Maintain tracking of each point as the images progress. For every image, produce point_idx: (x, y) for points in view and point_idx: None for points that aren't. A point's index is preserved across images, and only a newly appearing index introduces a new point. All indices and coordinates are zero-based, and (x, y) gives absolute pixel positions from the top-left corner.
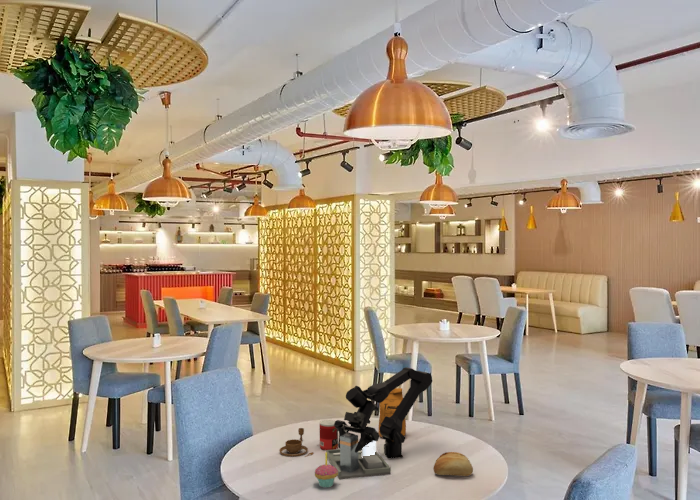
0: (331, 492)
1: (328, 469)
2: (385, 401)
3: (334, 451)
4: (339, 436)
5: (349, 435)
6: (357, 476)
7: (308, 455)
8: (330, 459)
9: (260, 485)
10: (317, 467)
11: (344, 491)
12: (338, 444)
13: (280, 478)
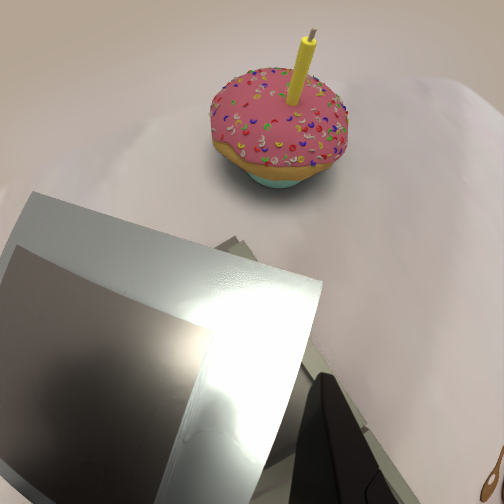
0: None
1: (253, 73)
2: None
3: None
4: (386, 496)
5: (24, 286)
6: None
7: (495, 467)
8: (387, 457)
9: (473, 124)
10: (338, 98)
11: (171, 133)
12: (341, 394)
13: (475, 182)
